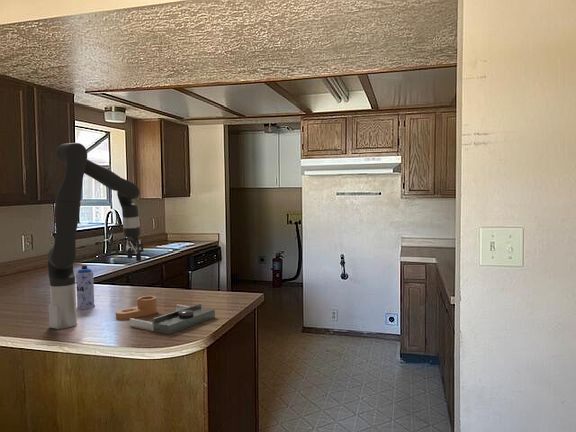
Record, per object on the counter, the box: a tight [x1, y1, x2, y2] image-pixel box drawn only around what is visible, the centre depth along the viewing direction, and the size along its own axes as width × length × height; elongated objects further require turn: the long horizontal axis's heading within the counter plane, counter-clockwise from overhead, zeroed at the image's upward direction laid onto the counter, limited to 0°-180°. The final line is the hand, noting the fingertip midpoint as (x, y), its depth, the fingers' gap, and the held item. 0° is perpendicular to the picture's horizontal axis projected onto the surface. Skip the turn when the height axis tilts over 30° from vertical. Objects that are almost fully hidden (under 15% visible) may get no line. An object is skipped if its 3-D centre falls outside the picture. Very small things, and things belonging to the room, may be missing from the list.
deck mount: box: [129, 303, 216, 336], centre depth 182 cm, size 26×22×5 cm
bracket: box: [115, 295, 158, 320], centre depth 194 cm, size 18×8×7 cm, turn 131°
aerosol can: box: [75, 265, 96, 310], centre depth 208 cm, size 8×8×20 cm
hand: (134, 259), depth 207 cm, fingers open, 8 cm apart
